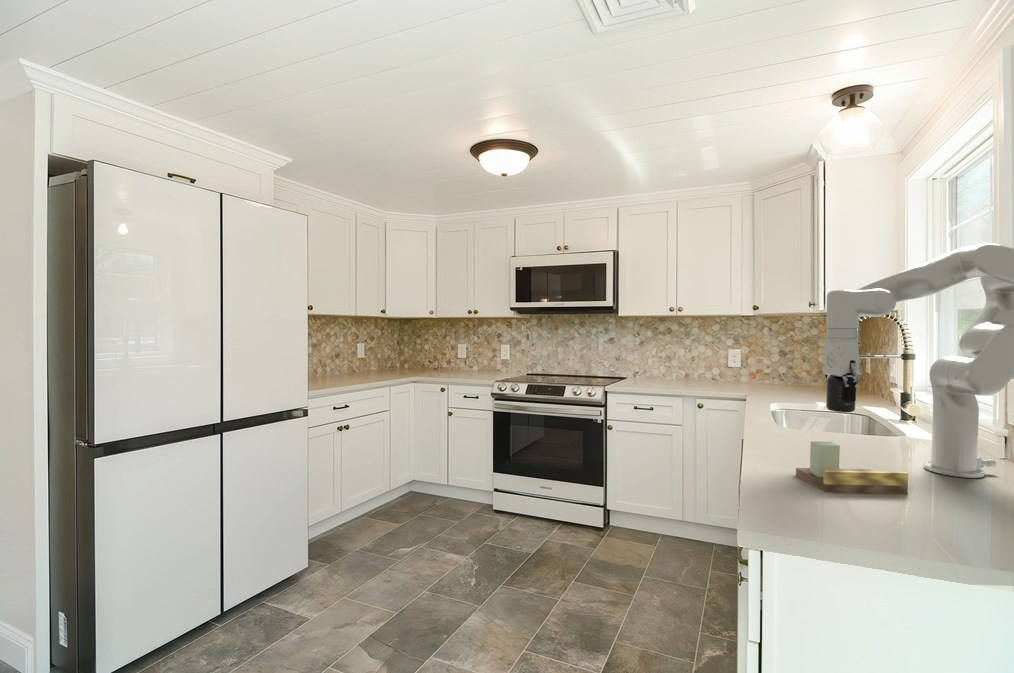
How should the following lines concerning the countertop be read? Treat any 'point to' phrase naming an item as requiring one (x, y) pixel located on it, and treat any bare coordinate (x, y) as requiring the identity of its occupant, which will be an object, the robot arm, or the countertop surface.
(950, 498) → the countertop surface
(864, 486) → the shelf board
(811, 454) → the product box
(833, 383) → the supplement bottle
